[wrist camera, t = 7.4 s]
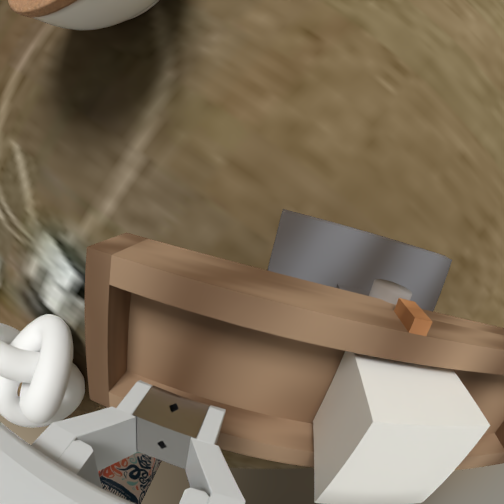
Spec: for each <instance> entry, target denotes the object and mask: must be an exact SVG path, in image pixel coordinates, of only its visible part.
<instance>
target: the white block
mask: <svg viewBox="0 0 504 504" xmlns="http://www.w3.org/2000/svg"><path fill="white" fill-rule="evenodd" d="M489 427H490V424H489V423H488V421H487V419H486V418H485V416H484V415H483V413H482V412H481V410H480V408H479V407H478V405H477V404H476V402H475V401H474V399H473V398H472V396H471V395H470V393H469V392H468V390H467V389H466V388H465V386H464V385H463V383H462V382H461V380H460V379H459V377H458V376H457V375H456V373H455V372H454V370H453V369H448V368H441V367H434V366H427V365H420V364H414V363H408V362H402V361H396V360H390V359H385V358H379V357H374V356H369V355H363V354H358V353H353V352H348V351H345V353H344V355H343V358H342V360H341V362H340V365H339V367H338V369H337V371H336V374H335V376H334V378H333V380H332V382H331V385H330V387H329V389H328V391H327V393H326V395H325V397H324V400H323V402H322V404H321V406H320V408H319V410H318V412H317V414H316V416H315V418H314V420H313V433H314V503H322V504H413V503H422V502H423V501H424V500H426V499H427V498H428V497H429V495H431V494H432V493H433V492H434V491H435V490H436V489H437V488H438V487H439V486H440V485H441V484H442V483H443V482H444V481H445V479H446V478H447V477H448V476H449V475H450V474H451V473H452V472H453V471H454V470H455V469H456V468H457V466H458V465H459V464H460V463H461V462H462V461H463V460H464V458H465V457H466V456H467V455H468V454H469V452H470V451H471V450H472V449H473V447H474V446H475V445H476V444H477V442H478V441H479V440H480V439H481V437H482V436H483V435H484V433H485V432H486V431H487V429H488V428H489Z"/></svg>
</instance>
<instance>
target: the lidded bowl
mask: <svg viewBox="0 0 504 504" xmlns="http://www.w3.org/2000/svg"><path fill="white" fill-rule="evenodd" d="M8 1H9V5H10V7H11V9H12V10H13V11H15V12H16V13H18V14H20V15H23V16H27V17H32V18H35V19H37V20H39V21H42V22H44V23H47V24H50V25H53V26H57V27H60V28H65V29H71V30H96V29H101V28H105V27H110V26H113V25H116V24H119V23H121V22H124V21H127V20H130V19H133V18H135V17H137V16H139V15H141V14H143V13H144V12H146V11H147V10H149V9H150V8H152V7H153V6H154V5H155V4H156V3H157V2H158V1H160V0H8Z"/></svg>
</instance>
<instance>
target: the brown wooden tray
mask: <svg viewBox="0 0 504 504" xmlns="http://www.w3.org/2000/svg"><path fill="white" fill-rule="evenodd" d="M451 261H452V260H451V259H449V258H448V257H446V256H444V255H441V254H438V253H434V252H431V251H428V250H425V249H422V248H419V247H415V246H412V245H409V244H406V243H403V242H399V241H396V240H393V239H389V238H386V237H383V236H379V235H376V234H372V233H369V232H365V231H362V230H358V229H355V228H351V227H348V226H344V225H341V224H337V223H333V222H330V221H326V220H322V219H319V218H315V217H311V216H307V215H304V214H300V213H296V212H292V211H288V210H284V209H283V211H282V215H281V219H280V223H279V227H278V231H277V235H276V239H275V243H274V247H273V251H272V255H271V258H270V262H269V266H268V270H264V269H260V268H256V267H252V266H248V265H245V264H241V263H237V262H233V261H229V260H226V259H222V258H218V257H214V256H210V255H207V254H203V253H199V252H195V251H192V250H188V249H184V248H181V247H177V246H173V245H169V244H166V243H162V242H158V241H155V240H151V239H147V238H144V237H140V236H136V235H133V234H129V233H124V234H121V235H119V236H116V237H113V238H110V239H107V240H105V241H102V242H99V243H96V244H94V245H91V246H88V247H87V254H86V273H85V343H86V361H87V375H88V386H89V395H90V399H91V400H93V401H95V402H97V403H99V404H101V405H103V406H105V407H107V408H109V407H115V408H117V406H118V405H119V404H120V402H121V401H122V400H123V399H124V397H125V396H126V395H127V394H128V392H129V391H130V390H131V388H132V387H133V386H134V385H135V383H136V382H138V381H139V380H141V381H143V382H146V383H148V384H150V385H153V386H156V387H159V388H161V389H164V390H166V391H169V392H171V393H174V394H177V395H179V396H183V397H186V398H189V399H192V400H195V401H198V402H202V403H205V404H208V405H210V406H211V405H212V406H216V407H219V408H223V409H225V410H226V412H225V416H224V419H223V423H222V426H221V430H220V434H219V437H218V441H217V444H216V445H218V446H219V447H220V449H223V450H227V451H230V452H234V453H238V454H243V455H247V456H251V457H256V458H260V459H265V460H270V461H275V462H281V463H287V464H293V465H299V466H306V467H313V468H314V433H313V420H314V418H315V416H316V414H317V412H318V410H319V408H320V406H321V404H322V402H323V400H324V397H325V395H326V393H327V391H328V389H329V387H330V385H331V382H332V380H333V378H334V376H335V374H336V371H337V369H338V367H339V365H340V362H341V360H342V358H343V355H344V353H345V351H348V352H353V353H358V354H363V355H369V356H374V357H379V358H385V359H390V360H396V361H402V362H408V363H414V364H420V365H427V366H434V367H441V368H448V369H453V370H454V372H455V373H456V375H457V376H458V377H459V379H460V380H461V382H462V383H463V385H464V386H465V388H466V389H467V390H468V392H469V393H470V395H471V396H472V398H473V399H474V401H475V402H476V404H477V405H478V407H479V408H480V410H481V412H482V413H483V415H484V416H485V418H486V419H487V421H488V423H489V424H490V427H489V428H488V429H487V431H486V432H485V433H484V435H483V436H482V437H481V439H480V440H479V441H478V442H477V444H476V445H475V446H474V447H473V449H472V450H471V451H470V452H469V454H468V455H467V456H466V457H465V458H464V460H463V461H462V462H461V463H460V464H459V465H458V466H457V468H456V469H455V470H461V469H470V468H477V467H484V466H490V465H495V464H501V463H504V328H501V327H496V326H492V325H488V324H483V323H479V322H475V321H470V320H466V319H462V318H458V317H453V316H449V315H445V314H441V313H436V312H433V310H434V308H435V305H436V303H437V300H438V298H439V295H440V293H441V290H442V287H443V285H444V282H445V279H446V276H447V273H448V270H449V267H450V264H451Z"/></svg>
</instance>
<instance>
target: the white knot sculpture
mask: <svg viewBox="0 0 504 504" xmlns="http://www.w3.org/2000/svg"><path fill="white" fill-rule="evenodd" d="M72 362H73V340H72V334H71V331H70V328H69V326H68V325H67V324H66V323H65V321H64V320H63V319H62V318H61V317H58V316H55V315H52V314H46V315H43V316H40V317H38V318H37V319H35V320H34V321H32V322H31V323H30V324H28V325H27V326H26V327H25V328H24V329H23V330H22V331H21V332H20V331H19V330H17V329H15V328H13V327H11V326H8V325H5V324H1V323H0V414H1V415H2V416H3V417H4V418H5V419H7V420H8V421H10V422H12V423H14V424H16V425H20V426H23V427H31V428H34V427H44V426H48V425H51V424H52V423H53V422H57V421H61V420H63V419H64V418H66V417H68V416H69V415H70V414H71V413H72V412H74V411H75V410H76V408H77V407H78V406H79V405H80V403H81V401H82V400H83V397H84V394H85V381H84V377H83V375H82V373H81V372H80V370H79V369H78V367H77V366H76V365H75V364H74V363H72ZM21 382H23V383H22V387H21V391H20V397H19V396H18V395H17V391H18V387H19V384H20V383H21Z"/></svg>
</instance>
